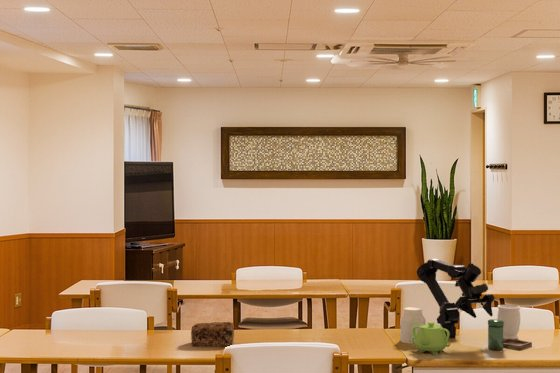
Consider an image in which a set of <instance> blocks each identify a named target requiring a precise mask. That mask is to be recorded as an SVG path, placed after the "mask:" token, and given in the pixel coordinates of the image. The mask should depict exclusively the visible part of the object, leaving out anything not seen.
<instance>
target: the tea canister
mask: <svg viewBox="0 0 560 373" xmlns="http://www.w3.org/2000/svg"><path fill="white" fill-rule="evenodd" d="M503 326H504V321H503V320H497V318H496V319H495V318H494V319H487V329H488V330H487V334H488V335H487V337H488V338H487V348H488V350H491V351H490V352H493V351H503V348H504V347H503V340H504V339H503Z"/></svg>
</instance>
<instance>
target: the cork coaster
mask: <svg viewBox="0 0 560 373" xmlns="http://www.w3.org/2000/svg"><path fill="white" fill-rule="evenodd" d="M484 350H485V351H488V352H492V353H493V352H494V353H495V352H496V353H502V352H506V351H507V348H504V347H503V351H491V350H488V347H485V348H484Z"/></svg>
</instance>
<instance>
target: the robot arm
mask: <svg viewBox="0 0 560 373" xmlns="http://www.w3.org/2000/svg"><path fill="white" fill-rule="evenodd" d="M438 271H441V272H444V273H446V274H447V276H449V277H450V278H452V279H457V280H455V284H454V287H459V289H460V291H462V293H461V296H459V298H458V299H457V300H456V302H449V300H448V298H447V296H446V295H445V292H444V291H443V289H442V288H441V285H440V284H439V283H438V281H437V272H438ZM481 274H482V270H481V268H480V267H478V266H477V265H475V264H474V263H468V265H467V266H466V265H462V264H451V263H449V262H446V261H443V260H441V259H439V258H430V259H428V260H427V261H426V262H425V263H423V264H421V265H420V266H418V268H417V270H416V275H417V278H418V279H419V280H420V281H421V282H422V283H424V284H426V286H427V287H428V289H429V291H430V293H431V294H432V296H433V298H434V299H435V301H436V303H437V305H438V307H439V312H438V313H439V315H438V316H437V318H436V323H437V325H439V326H442V327H443V329H447V330H448V331H449V333H450V336H449V339H450V338H455V339H456V336H457V327H456V325H455V324H458V323H459V319H460V316H461V313H460V311H463V312H465V313H466V314H468V315H469V316H471V317H473V318H474V319H476V318H477V315H476V312H475V310H474V309H473V307H472V304H480V305H481V306H482V308H483V309H484V311H485V312H486V313H487V315H489V316H490V317H492V316H493V308H492V303H493V302H494V301H495V299H496V297H495V296H494V295H493V294H491V293H489V294H485V295H483V293H487V291H488V290H489V287H488V285H487V283H482V284H476V285H474V284H473V283H474V282H475V281H476V280H477V279H478V278H479V276H480V275H481ZM482 296H483V297H482ZM459 310H460V311H459ZM444 332H445V334H446V337H447V332H446V331H444Z"/></svg>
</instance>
